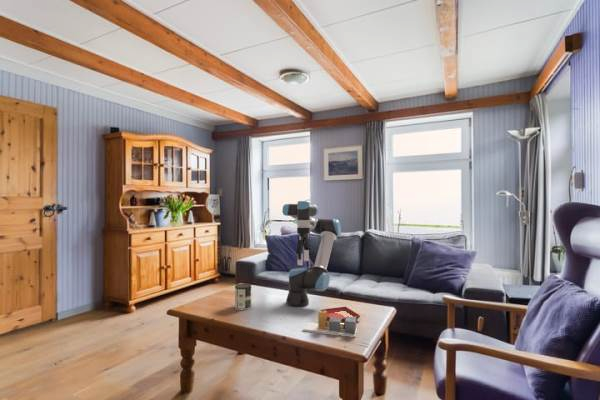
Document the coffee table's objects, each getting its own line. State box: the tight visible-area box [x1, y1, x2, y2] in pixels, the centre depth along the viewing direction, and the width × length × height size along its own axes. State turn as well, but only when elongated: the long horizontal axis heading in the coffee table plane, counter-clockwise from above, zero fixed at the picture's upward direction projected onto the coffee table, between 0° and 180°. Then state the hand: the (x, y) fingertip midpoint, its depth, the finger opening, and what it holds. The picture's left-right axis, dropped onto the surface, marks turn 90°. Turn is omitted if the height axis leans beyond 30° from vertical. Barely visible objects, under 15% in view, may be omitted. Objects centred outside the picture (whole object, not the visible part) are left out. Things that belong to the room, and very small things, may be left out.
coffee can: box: [234, 283, 252, 311], centre depth 201 cm, size 10×10×14 cm
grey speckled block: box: [328, 317, 343, 332], centre depth 165 cm, size 6×6×5 cm
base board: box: [302, 322, 358, 338], centre depth 166 cm, size 10×28×1 cm, turn 74°
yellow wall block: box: [317, 309, 345, 330], centre depth 165 cm, size 18×4×8 cm, turn 74°
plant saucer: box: [321, 306, 361, 323], centre depth 184 cm, size 18×18×3 cm
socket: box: [344, 316, 357, 334], centre depth 163 cm, size 7×5×6 cm
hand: (303, 262), depth 186 cm, fingers open, 13 cm apart
